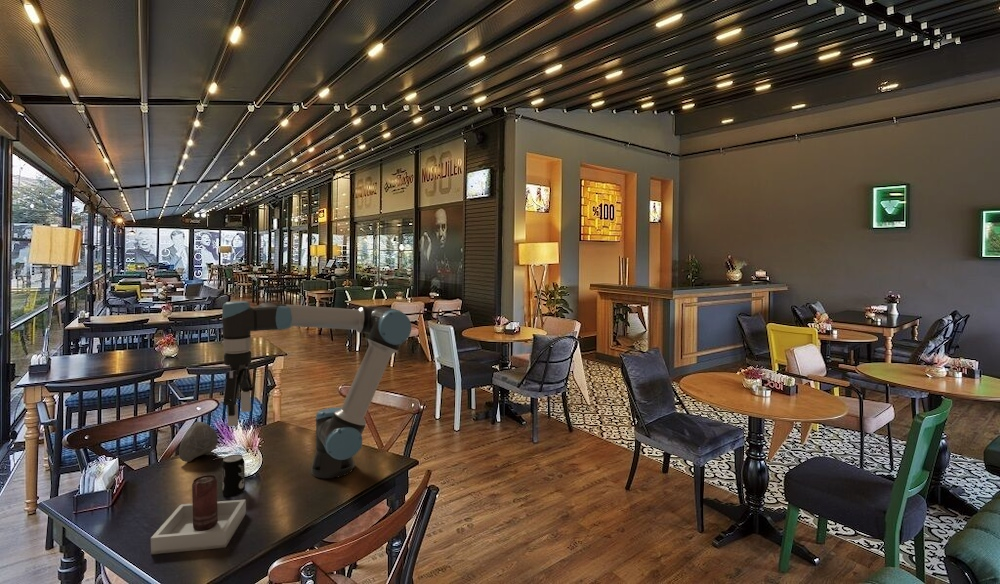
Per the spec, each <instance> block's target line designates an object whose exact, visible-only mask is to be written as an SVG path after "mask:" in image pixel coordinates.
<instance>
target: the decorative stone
mask: <svg viewBox="0 0 1000 584" xmlns="http://www.w3.org/2000/svg"><path fill="white" fill-rule="evenodd" d="M218 436H219V435H218V434H217V432H216V430H214V428H213V427H212V426H210V425H209V424H207V423H206V422H203V421H195V422H194V424H192V425H191V426H190V427H189V428H188V429H187V430H186V432H185V434H184V435H183V437H182V440H181V442H180V443H179V447H178V456H179V459H180V461H182V462H185V463H190V462H192V461H194V459H195V458H199V457H201V456H204V455H208V454H212V452H211V451H212V449H214V448H215V449H216V448H217V444H218V440H219V438H218Z"/></svg>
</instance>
